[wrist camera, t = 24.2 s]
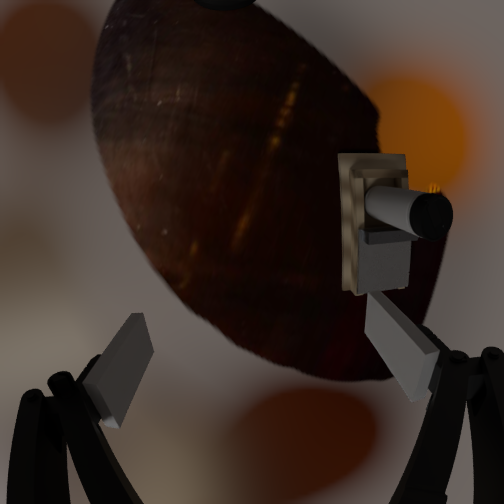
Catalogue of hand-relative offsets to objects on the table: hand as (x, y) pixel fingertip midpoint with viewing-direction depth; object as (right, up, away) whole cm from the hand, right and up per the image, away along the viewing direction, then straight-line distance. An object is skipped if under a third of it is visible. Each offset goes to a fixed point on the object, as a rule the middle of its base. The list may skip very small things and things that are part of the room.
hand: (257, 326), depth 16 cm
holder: (+23, +10, +36) cm, 44 cm away
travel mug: (+23, +14, +34) cm, 43 cm away
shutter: (+24, +3, +33) cm, 41 cm away
